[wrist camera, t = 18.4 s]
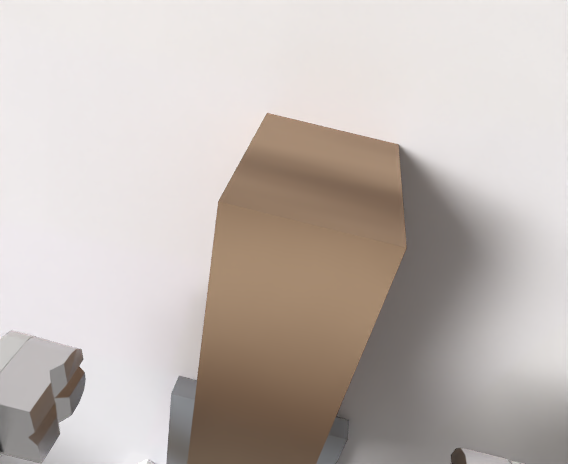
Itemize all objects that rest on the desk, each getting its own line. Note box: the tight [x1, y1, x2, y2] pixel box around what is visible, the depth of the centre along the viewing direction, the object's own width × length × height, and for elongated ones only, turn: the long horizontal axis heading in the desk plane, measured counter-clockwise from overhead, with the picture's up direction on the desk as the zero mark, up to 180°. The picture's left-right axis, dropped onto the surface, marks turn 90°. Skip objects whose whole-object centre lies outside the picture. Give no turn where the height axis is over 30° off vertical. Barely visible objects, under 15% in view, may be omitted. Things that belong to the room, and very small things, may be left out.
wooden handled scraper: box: [167, 113, 407, 464], centre depth 14 cm, size 17×6×4 cm, turn 170°
